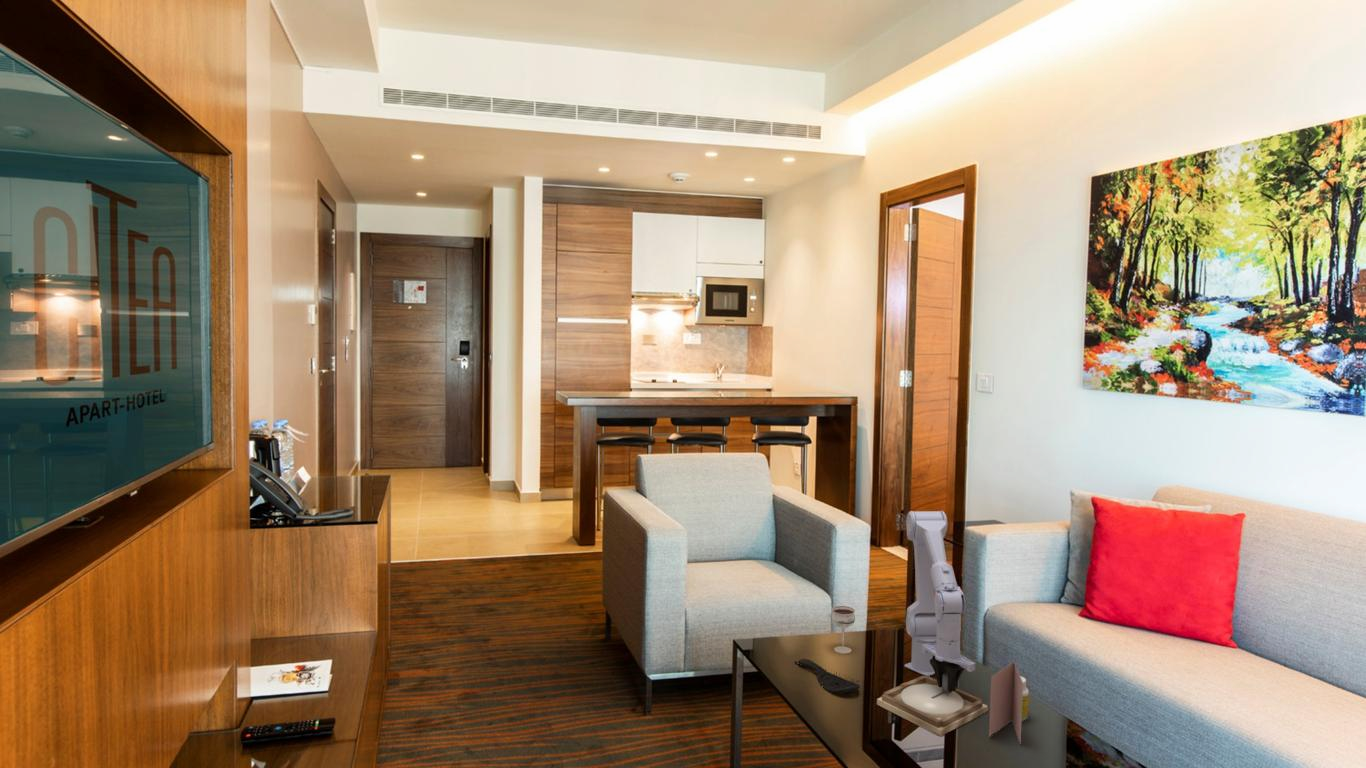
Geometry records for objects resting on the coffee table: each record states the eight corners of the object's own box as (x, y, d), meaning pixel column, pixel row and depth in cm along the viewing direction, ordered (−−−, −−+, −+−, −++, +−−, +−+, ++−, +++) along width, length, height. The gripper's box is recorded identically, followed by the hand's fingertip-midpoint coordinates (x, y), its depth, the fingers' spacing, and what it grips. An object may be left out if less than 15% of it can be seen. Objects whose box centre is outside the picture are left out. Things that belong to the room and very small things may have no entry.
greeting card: (1008, 719, 203) (1010, 660, 201) (1038, 731, 197) (1041, 670, 196) (985, 736, 195) (987, 675, 193) (1016, 749, 190) (1018, 686, 188)
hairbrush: (808, 649, 238) (867, 680, 216) (808, 661, 238) (867, 693, 216) (784, 655, 234) (842, 687, 212) (784, 668, 234) (842, 701, 212)
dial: (938, 723, 198) (939, 702, 197) (888, 699, 210) (889, 678, 209) (975, 704, 207) (976, 684, 206) (925, 682, 219) (926, 662, 218)
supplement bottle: (1017, 724, 200) (1018, 685, 199) (999, 714, 205) (1000, 676, 204) (1032, 718, 203) (1034, 680, 202) (1014, 709, 208) (1016, 671, 207)
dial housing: (924, 683, 221) (924, 672, 221) (987, 711, 206) (988, 700, 206) (876, 704, 210) (877, 693, 210) (940, 736, 195) (940, 724, 195)
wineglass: (830, 644, 246) (830, 605, 245) (853, 645, 246) (854, 606, 244) (831, 654, 239) (832, 614, 238) (855, 655, 239) (856, 615, 237)
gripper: (914, 631, 213) (913, 682, 215) (963, 650, 202) (962, 704, 203) (931, 625, 218) (930, 674, 219) (980, 643, 206) (979, 695, 207)
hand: (946, 688), depth 211 cm, fingers closed on dial, 2 cm apart
